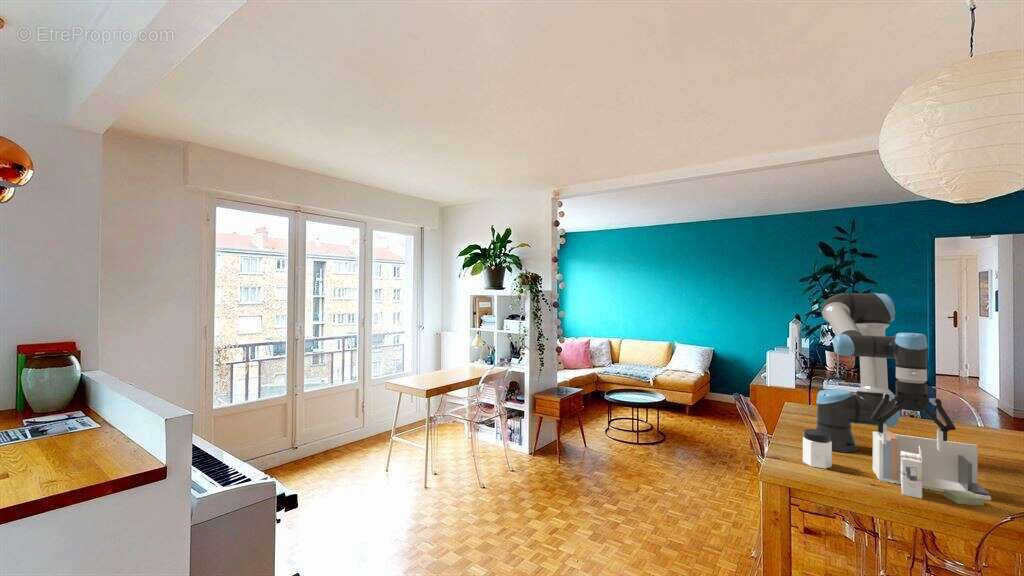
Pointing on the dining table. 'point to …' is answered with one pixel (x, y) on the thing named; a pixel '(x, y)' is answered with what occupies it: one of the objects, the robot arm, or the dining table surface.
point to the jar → (817, 448)
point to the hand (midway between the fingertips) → (911, 447)
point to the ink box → (911, 474)
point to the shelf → (924, 461)
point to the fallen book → (963, 497)
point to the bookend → (968, 476)
